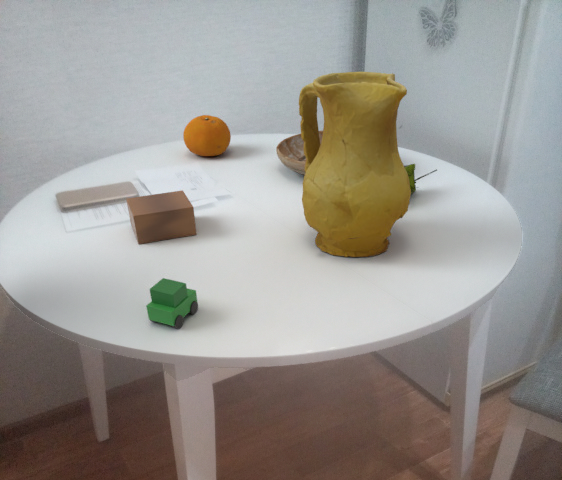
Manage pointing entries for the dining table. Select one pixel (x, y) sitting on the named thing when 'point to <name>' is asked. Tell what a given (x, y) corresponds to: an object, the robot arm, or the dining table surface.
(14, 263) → the dining table surface
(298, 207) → the dining table surface
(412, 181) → the toy tank
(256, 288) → the dining table surface
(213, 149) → the fruit
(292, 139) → the ceramic bowl
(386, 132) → the pitcher
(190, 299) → the toy car
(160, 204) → the wooden block
